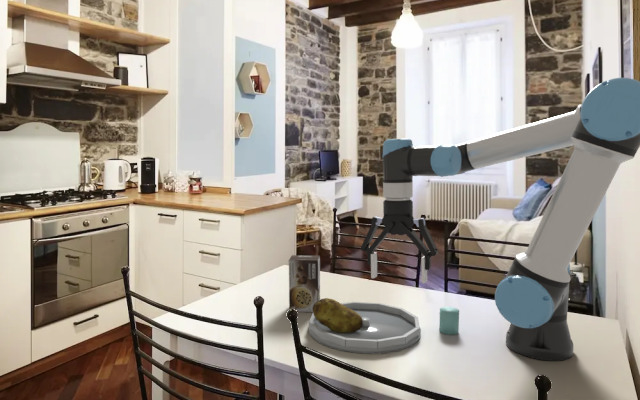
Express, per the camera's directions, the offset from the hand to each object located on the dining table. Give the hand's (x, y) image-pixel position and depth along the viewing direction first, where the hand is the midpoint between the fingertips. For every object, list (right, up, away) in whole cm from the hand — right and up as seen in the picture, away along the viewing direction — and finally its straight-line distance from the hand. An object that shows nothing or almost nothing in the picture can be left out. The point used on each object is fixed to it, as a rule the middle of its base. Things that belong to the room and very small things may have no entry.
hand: (398, 279), depth 123 cm
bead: (+14, -15, +3) cm, 21 cm away
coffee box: (-25, -13, +21) cm, 35 cm away
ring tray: (-9, -14, +4) cm, 17 cm away
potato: (-16, -14, +1) cm, 21 cm away
